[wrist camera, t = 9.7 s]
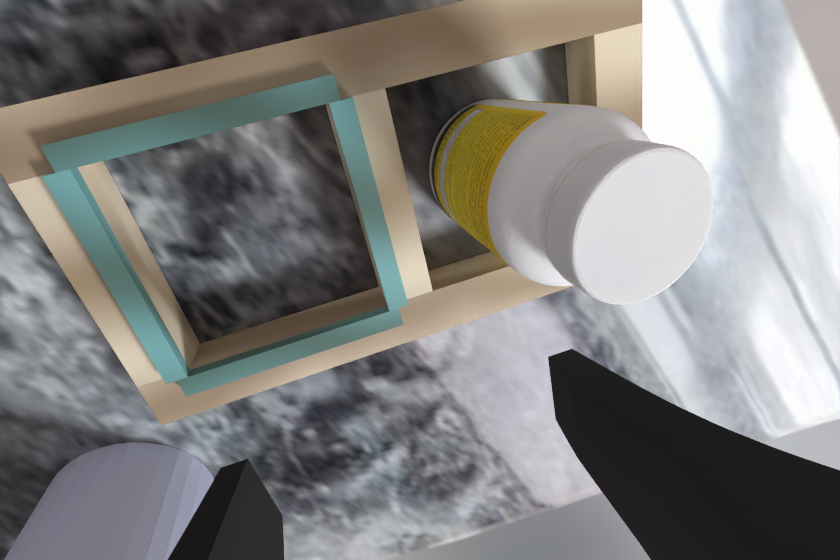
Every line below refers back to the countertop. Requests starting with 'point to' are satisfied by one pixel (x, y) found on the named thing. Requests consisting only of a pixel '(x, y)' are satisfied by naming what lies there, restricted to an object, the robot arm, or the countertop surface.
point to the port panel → (363, 163)
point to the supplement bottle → (573, 196)
